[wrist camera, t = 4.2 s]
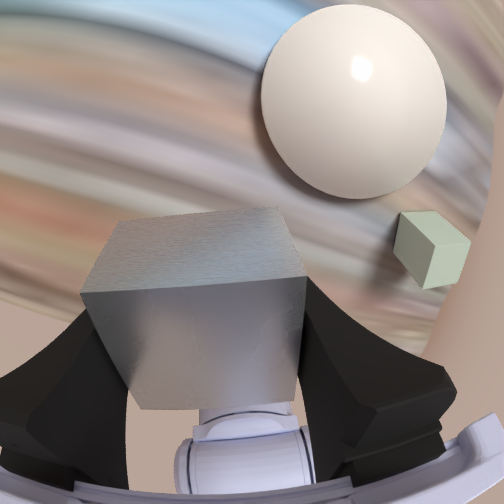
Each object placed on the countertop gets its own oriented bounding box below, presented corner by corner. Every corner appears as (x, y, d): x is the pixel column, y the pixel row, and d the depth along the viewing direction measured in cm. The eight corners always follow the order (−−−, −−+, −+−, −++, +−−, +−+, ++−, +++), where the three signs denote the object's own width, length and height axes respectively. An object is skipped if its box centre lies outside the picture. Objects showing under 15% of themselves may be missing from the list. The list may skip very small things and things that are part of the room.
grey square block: (277, 324, 13) (294, 400, 10) (153, 333, 13) (141, 409, 10) (278, 206, 11) (307, 275, 7) (119, 221, 10) (79, 292, 7)
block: (426, 248, 24) (457, 282, 20) (392, 252, 24) (422, 289, 19) (435, 211, 22) (471, 241, 18) (400, 212, 22) (435, 245, 18)
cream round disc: (427, 192, 21) (434, 197, 20) (263, 198, 20) (265, 204, 19) (439, 29, 14) (447, 28, 13) (255, -1, 13) (257, -5, 12)
